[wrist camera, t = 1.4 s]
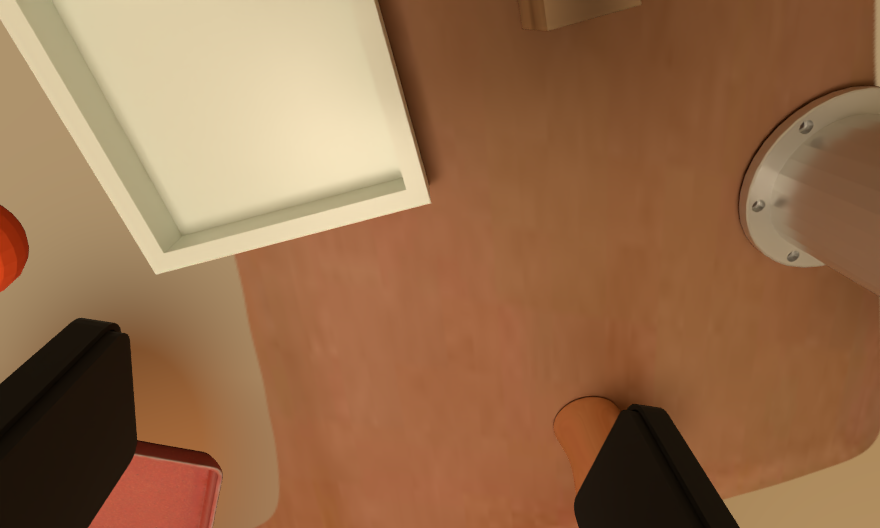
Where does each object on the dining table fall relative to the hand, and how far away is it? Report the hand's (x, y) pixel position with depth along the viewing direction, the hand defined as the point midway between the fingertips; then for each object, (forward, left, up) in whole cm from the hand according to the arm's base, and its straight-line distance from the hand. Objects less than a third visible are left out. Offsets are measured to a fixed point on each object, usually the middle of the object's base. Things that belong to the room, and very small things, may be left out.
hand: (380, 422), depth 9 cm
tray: (+8, -6, -24) cm, 26 cm away
